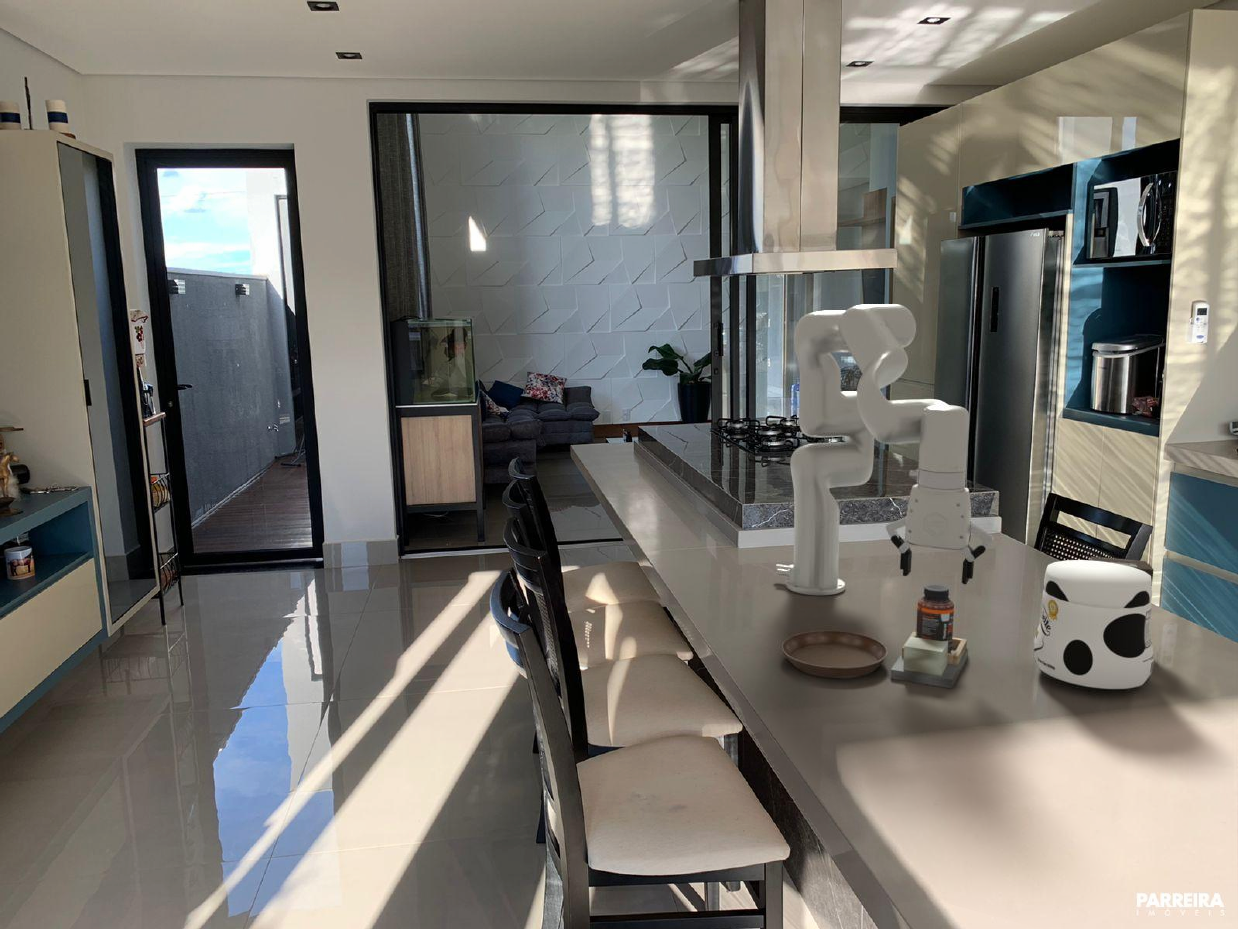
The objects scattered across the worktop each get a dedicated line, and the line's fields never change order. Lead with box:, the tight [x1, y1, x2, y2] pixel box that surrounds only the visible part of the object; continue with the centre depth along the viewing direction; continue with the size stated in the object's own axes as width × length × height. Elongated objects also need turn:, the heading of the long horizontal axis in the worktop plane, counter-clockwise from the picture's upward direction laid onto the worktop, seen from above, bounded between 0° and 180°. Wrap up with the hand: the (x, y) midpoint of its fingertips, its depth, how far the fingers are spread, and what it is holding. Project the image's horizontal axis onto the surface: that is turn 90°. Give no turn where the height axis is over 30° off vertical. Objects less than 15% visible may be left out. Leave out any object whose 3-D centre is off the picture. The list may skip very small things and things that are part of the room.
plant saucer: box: [781, 629, 888, 679], centre depth 162 cm, size 18×18×3 cm
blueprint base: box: [890, 631, 969, 689], centre depth 159 cm, size 10×16×6 cm, turn 151°
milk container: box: [1033, 559, 1155, 693], centre depth 151 cm, size 17×17×18 cm
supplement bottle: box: [915, 584, 955, 653], centre depth 161 cm, size 6×6×11 cm
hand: (935, 578), depth 160 cm, fingers open, 9 cm apart
